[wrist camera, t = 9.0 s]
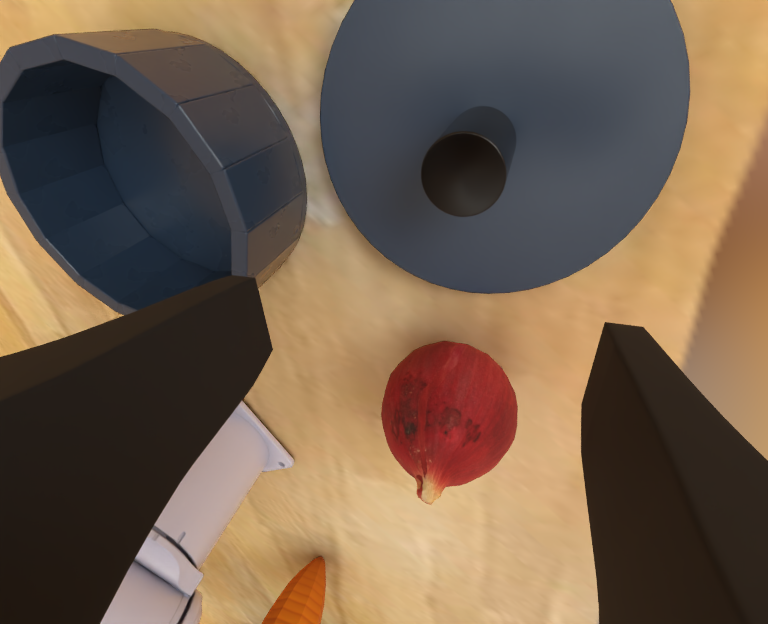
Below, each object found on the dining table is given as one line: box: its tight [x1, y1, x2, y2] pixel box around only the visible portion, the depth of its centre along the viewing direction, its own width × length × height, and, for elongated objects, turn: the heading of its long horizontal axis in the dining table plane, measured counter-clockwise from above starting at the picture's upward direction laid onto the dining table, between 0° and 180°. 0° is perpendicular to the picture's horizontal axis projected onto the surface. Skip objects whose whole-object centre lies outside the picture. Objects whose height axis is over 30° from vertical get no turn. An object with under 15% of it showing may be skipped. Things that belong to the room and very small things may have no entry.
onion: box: [381, 341, 517, 505], centre depth 19 cm, size 6×6×8 cm
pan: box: [0, 29, 307, 315], centre depth 19 cm, size 11×11×5 cm
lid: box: [320, 0, 690, 294], centre depth 14 cm, size 12×12×5 cm
